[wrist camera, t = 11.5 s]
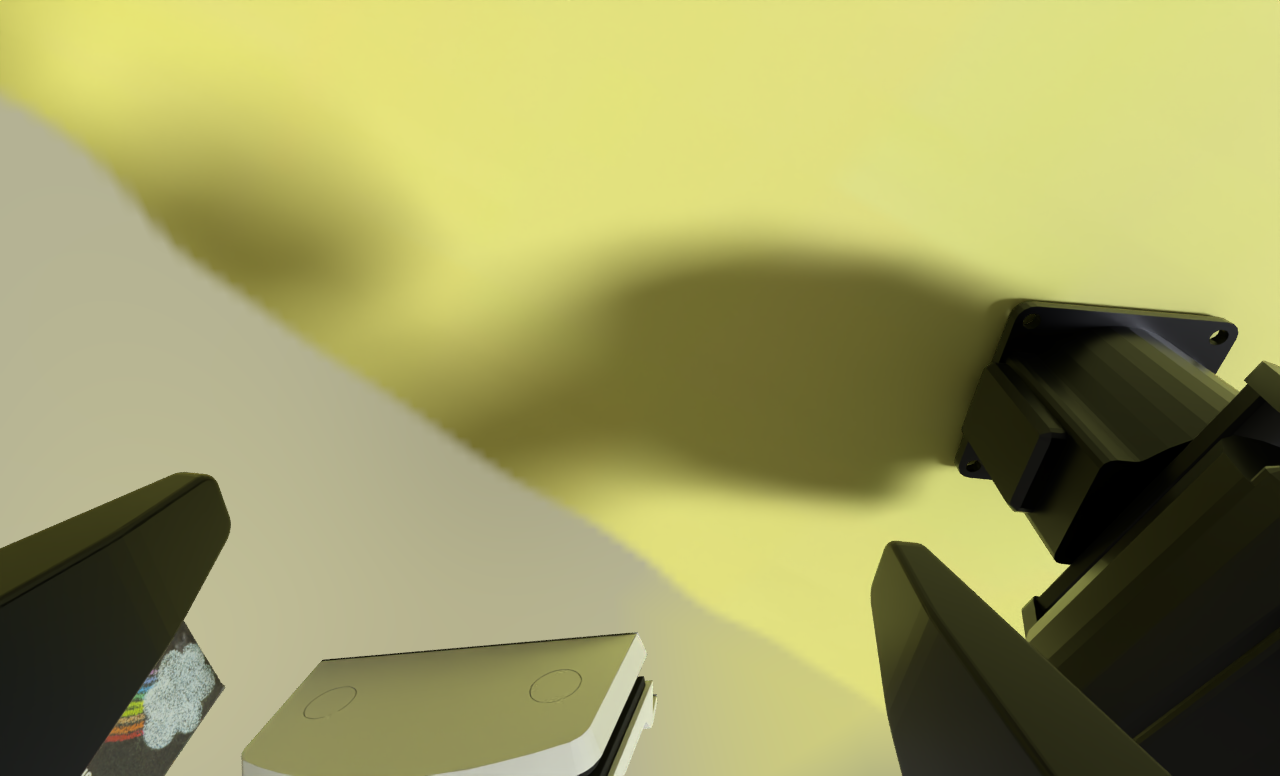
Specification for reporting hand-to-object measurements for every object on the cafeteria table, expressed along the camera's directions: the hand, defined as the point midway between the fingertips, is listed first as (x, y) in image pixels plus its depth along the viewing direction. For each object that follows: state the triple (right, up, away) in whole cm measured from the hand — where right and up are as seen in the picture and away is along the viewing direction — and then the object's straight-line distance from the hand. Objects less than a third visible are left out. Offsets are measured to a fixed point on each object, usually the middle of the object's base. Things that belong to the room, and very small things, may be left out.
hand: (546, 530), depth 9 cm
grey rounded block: (-6, -11, +23) cm, 26 cm away
